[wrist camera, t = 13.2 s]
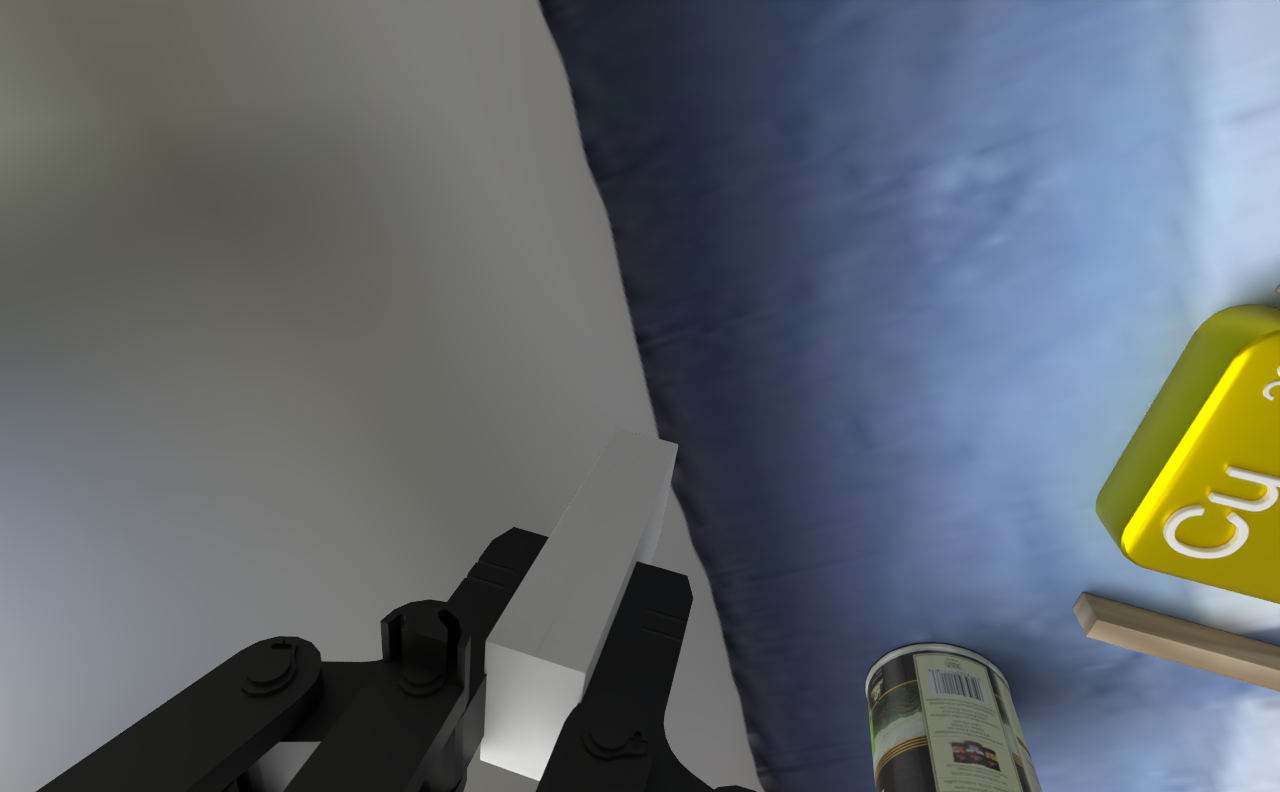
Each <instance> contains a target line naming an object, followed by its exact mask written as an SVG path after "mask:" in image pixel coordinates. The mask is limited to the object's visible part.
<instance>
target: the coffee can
mask: <svg viewBox="0 0 1280 792" xmlns="http://www.w3.org/2000/svg"><path fill="white" fill-rule="evenodd" d="M866 696H867V700H868V709H869V720H870V731H871V741H872V754H873V765H874V776H875V788H876V792H1042V789H1041V787H1040V784H1039V781H1038V778H1037V775H1036V772H1035V768H1034V765H1033V762H1032V759H1031V756H1030V754H1029V750H1028V747H1027V744H1026V741H1025V738H1024V735H1023V732H1022V729H1021V726H1020V723H1019V720H1018V717H1017V714H1016V711H1015V708H1014V705H1013V702H1012V699H1011V693H1010V689H1009V685H1008V682H1007V680H1006V679H1005V678H1004V676H1003V674H1002V673H1001V672H1000V671H999V670H998V668H997V667H996V666H994V665H993V664H992V663H991V662H990V661H988V660H987V659H985V658H984V657H982V656H980V655H978V654H976V653H974V652H972V651H970V650H967V649H963V648H960V647H956V646H952V645H946V644H936V643H926V644H915V645H910V646H907V647H903V648H899V649H897V650H895V651H892V652H890V653H888V654H887V655H885V656H884V657H882V658H881V659H880V660H879V661H878V662H877V663H876V664H875V665H874V666H873V667H872V668H871V670H870V672H869V674H868V677H867V680H866Z"/></svg>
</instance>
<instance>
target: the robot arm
mask: <svg viewBox="0 0 1280 792" xmlns="http://www.w3.org/2000/svg"><path fill="white" fill-rule="evenodd" d="M677 448H678V444H675V443H672V442H668V441H664V440H660V439H656V438H652V437H648V436H644V435H640V434H637V433H633V432H629V431H625V430H621V429H617V428H616V429H615V430H614V432H613V434H612V435H611V437H610V439H609V440H608V442H607V444H606V445H605V447H604V449H603V450H602V452H601V453H600V455H599V457H598V459H597V460H596V461H595V463H594V465H593V466H592V468H591V470H590V471H589V473H588V475H587V476H586V478H585V479H584V481H583V483H582V484H581V486H580V488H579V489H578V491H577V493H576V495H575V496H574V497H573V499H572V501H571V502H570V504H569V506H568V507H567V509H566V510H565V512H564V514H563V515H562V517H561V519H560V520H559V522H558V524H557V525H556V527H555V529H554V530H553V532H552V533H551V535H550V537H546V536H543V535H540V534H536V533H533V532H529V531H526V530H522V529H519V528H516V527H513V528H512V529H510V530H509V531H507V532H505V533H504V534H502V535H500V536H499V537H497V538H495V539H494V540H492V542H491V543H490V544H489V546H488V547H487V548H486V550H485V551H484V553H483V554H482V555H481V557H480V558H479V561H478V563H475V565H474V566H473V567H472V569H471V570H470V572H469V573H468V575H467V578H464V580H463V581H462V582H461V584H460V585H459V587H458V588H457V589H456V591H455V592H454V593H453V595H452V596H451V597H450V599H449V600H448V601H447V602H443V601H436V600H423V601H417V602H410V603H408V604H406V605H404V606H401V607H399V608H397V609H394V610H393V611H392V612H391V613H390V614H388V615H387V616H386V617H385V618H384V619H383V620H381V636H382V652H383V659H382V660H378V661H370V662H323V661H321V657H320V652H319V651H318V650H317V648H316V647H315V646H314V645H313V644H312V642H309V641H306V640H304V639H301V638H299V637H284V636H278V637H274V638H270V639H266V640H263V641H259V642H257V643H255V644H253V645H251V646H249V647H247V648H245V649H243V650H241V651H240V652H238V653H237V654H235V655H234V656H232V657H231V658H229V659H228V660H226V661H225V662H224V663H222V664H221V665H219V666H218V667H216V668H215V669H214V670H212V671H211V672H209V673H208V674H206V675H205V676H203V677H202V678H200V679H199V680H198V681H196V682H195V683H193V684H192V685H190V686H189V687H187V688H186V689H184V690H183V691H181V692H180V693H179V694H177V695H176V696H174V697H173V698H171V699H170V700H168V701H167V702H166V703H164V704H163V705H161V706H160V707H159V708H157V709H155V710H154V711H153V712H151V713H149V714H148V715H147V716H145V717H144V718H142V719H141V720H139V721H138V722H136V723H135V724H133V725H132V726H131V727H129V728H128V729H126V730H125V731H123V732H122V733H120V734H119V735H118V736H116V737H115V738H113V739H112V740H110V741H109V742H107V743H106V744H104V745H103V746H102V747H100V748H99V749H97V750H96V751H94V752H93V753H91V754H90V755H89V756H87V757H86V758H84V759H83V760H81V761H80V762H78V763H77V764H75V765H74V766H72V767H71V768H70V769H68V770H67V771H65V772H64V773H62V774H61V775H59V776H58V777H56V778H55V779H54V780H52V781H51V782H49V783H48V784H46V785H45V786H43V787H42V788H40V789H39V790H38V791H36V792H463V791H464V788H465V785H466V781H467V767H468V765H469V763H470V761H471V759H472V758H473V756H474V754H475V752H476V750H477V748H478V746H479V744H480V742H481V755H480V760H482V761H485V762H488V763H491V764H493V765H496V766H499V767H502V768H505V769H507V770H510V771H513V772H516V773H518V774H521V775H524V776H527V777H530V778H533V779H535V780H538V781H540V782H539V785H538V788H537V790H536V792H756V791H754V790H750V789H747V788H743V787H740V786H737V785H735V786H725V787H718V788H716V789H712V788H711V787H709V786H708V785H707V784H705V783H704V782H703V781H701V780H700V779H699V778H697V777H696V776H695V775H693V774H692V773H691V772H690V771H689V770H687V769H686V768H685V767H684V766H683V765H682V764H681V763H680V762H679V761H678V759H677V758H676V756H675V755H674V754H673V752H672V751H671V749H670V747H669V744H668V741H667V739H666V737H665V731H664V724H663V723H664V714H665V710H666V706H667V702H668V698H669V694H670V690H671V686H672V682H673V678H674V673H675V669H676V665H677V662H678V657H679V654H680V649H681V645H682V641H683V637H684V633H685V629H686V625H687V621H688V617H689V613H690V609H691V605H692V601H693V596H692V592H691V588H690V584H689V580H688V577H687V576H686V575H683V574H679V573H676V572H672V571H669V570H666V569H662V568H659V567H655V566H652V565H650V562H651V559H652V556H653V554H654V551H655V548H656V545H657V543H658V540H659V537H660V532H661V527H662V522H663V518H664V513H665V508H666V503H667V498H668V493H669V488H670V483H671V478H672V473H673V468H674V463H675V458H676V453H677Z"/></svg>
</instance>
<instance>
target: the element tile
mask: <svg viewBox="0 0 1280 792" xmlns="http://www.w3.org/2000/svg"><path fill="white" fill-rule="evenodd" d="M1096 513H1097V515H1098V517H1099V519H1100V521H1101V522H1102V524H1103V525H1104V527H1105V528H1106V530H1107V531H1108V533H1109V534H1110V536H1111V537H1112V539H1113V540H1114V542H1115V543H1116V545H1117V546H1118V548H1119V549H1120V551H1121V552H1122V554H1123V555H1124V556H1125V557H1126V558H1128V559H1129V560H1131V561H1132V562H1133V563H1135V564H1136V565H1138V566H1141V567H1143V568H1146V569H1150V570H1154V571H1157V572H1161V573H1165V574H1169V575H1173V576H1176V577H1180V578H1184V579H1188V580H1191V581H1195V582H1199V583H1203V584H1206V585H1210V586H1214V587H1218V588H1222V589H1225V590H1229V591H1233V592H1237V593H1240V594H1244V595H1248V596H1252V597H1255V598H1259V599H1263V600H1267V601H1271V602H1274V603H1278V604H1280V309H1277V308H1272V307H1267V306H1262V305H1243V306H1236V307H1230V308H1227V309H1225V310H1223V311H1220V312H1218V313H1216V314H1214V315H1213V316H1212V317H1210V318H1209V319H1208V320H1207V321H1206V322H1204V323H1203V324H1202V325H1201V326H1200V327H1199V328H1198V330H1197V331H1196V332H1195V333H1194V335H1193V336H1192V338H1191V340H1190V341H1189V343H1188V345H1187V346H1186V348H1185V350H1184V351H1183V353H1182V355H1181V356H1180V358H1179V360H1178V361H1177V363H1176V365H1175V366H1174V368H1173V370H1172V372H1171V373H1170V375H1169V377H1168V378H1167V380H1166V382H1165V383H1164V385H1163V387H1162V388H1161V390H1160V392H1159V393H1158V395H1157V397H1156V398H1155V400H1154V402H1153V403H1152V405H1151V407H1150V408H1149V410H1148V412H1147V413H1146V415H1145V417H1144V419H1143V420H1142V422H1141V424H1140V425H1139V427H1138V429H1137V430H1136V432H1135V434H1134V435H1133V437H1132V439H1131V440H1130V442H1129V444H1128V445H1127V447H1126V449H1125V450H1124V452H1123V454H1122V455H1121V457H1120V459H1119V460H1118V462H1117V464H1116V466H1115V467H1114V469H1113V471H1112V472H1111V474H1110V476H1109V477H1108V479H1107V481H1106V482H1105V484H1104V486H1103V487H1102V489H1101V491H1100V492H1099V495H1098V497H1097V500H1096Z"/></svg>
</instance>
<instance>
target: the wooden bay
mask: <svg viewBox="0 0 1280 792" xmlns="http://www.w3.org/2000/svg"><path fill="white" fill-rule="evenodd" d="M1276 292H1279V293H1280V285H1279V286H1278V288H1277V289H1276ZM1073 611H1074V613H1075V615H1076V617H1077V619H1078V621H1079V623H1080V625H1081V627H1082V629H1083V631H1084V633H1085V635H1086V637H1089V638H1093V639H1096V640H1100V641H1104V642H1107V643H1111V644H1114V645H1118V646H1121V647H1125V648H1128V649H1132V650H1135V651H1139V652H1142V653H1146V654H1149V655H1153V656H1156V657H1160V658H1163V659H1167V660H1170V661H1174V662H1177V663H1181V664H1184V665H1188V666H1191V667H1195V668H1198V669H1202V670H1205V671H1209V672H1212V673H1216V674H1220V675H1223V676H1227V677H1230V678H1234V679H1237V680H1241V681H1244V682H1248V683H1251V684H1255V685H1258V686H1262V687H1265V688H1269V689H1272V690H1276V691H1279V692H1280V647H1279V646H1276V645H1272V644H1268V643H1265V642H1261V641H1257V640H1254V639H1250V638H1247V637H1243V636H1239V635H1236V634H1232V633H1228V632H1225V631H1221V630H1217V629H1214V628H1210V627H1206V626H1203V625H1199V624H1196V623H1192V622H1188V621H1185V620H1181V619H1177V618H1174V617H1170V616H1166V615H1163V614H1159V613H1155V612H1152V611H1148V610H1145V609H1141V608H1137V607H1134V606H1130V605H1126V604H1123V603H1119V602H1115V601H1112V600H1108V599H1104V598H1101V597H1097V596H1094V595H1090V594H1086V593H1082V595H1081V596H1080V598H1079V599H1078V601H1077V602H1076V604H1075V606H1074V607H1073Z"/></svg>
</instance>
